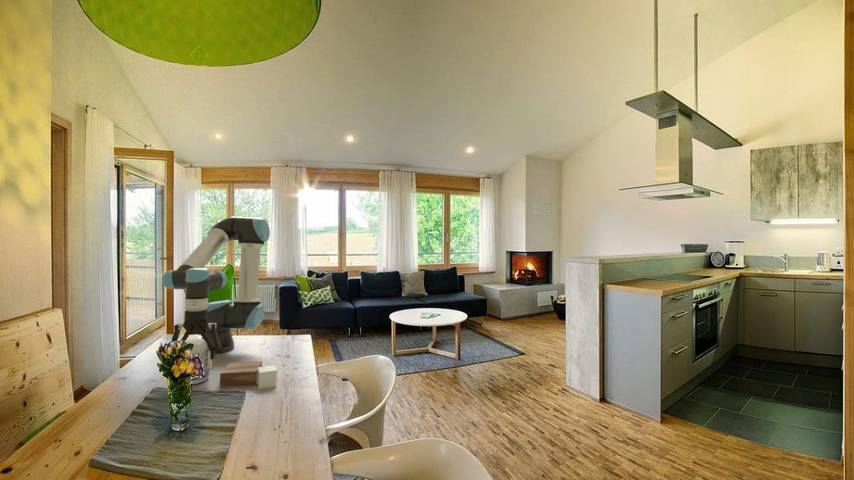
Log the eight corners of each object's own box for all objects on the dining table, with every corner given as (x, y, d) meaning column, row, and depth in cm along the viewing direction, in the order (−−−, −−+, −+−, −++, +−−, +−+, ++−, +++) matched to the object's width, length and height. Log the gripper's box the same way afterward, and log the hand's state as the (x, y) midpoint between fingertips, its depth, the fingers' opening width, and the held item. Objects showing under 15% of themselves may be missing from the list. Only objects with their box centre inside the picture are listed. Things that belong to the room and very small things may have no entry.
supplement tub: (211, 381, 140) (212, 342, 140) (182, 387, 133) (183, 347, 133) (205, 374, 147) (206, 337, 147) (176, 379, 140) (177, 341, 140)
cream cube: (257, 383, 140) (257, 367, 140) (274, 380, 143) (275, 365, 143) (258, 389, 135) (259, 372, 135) (276, 386, 138) (276, 370, 138)
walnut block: (229, 375, 147) (229, 362, 147) (261, 373, 150) (262, 361, 150) (219, 387, 135) (220, 373, 135) (255, 385, 138) (255, 371, 138)
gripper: (158, 311, 134) (156, 373, 134) (225, 310, 139) (223, 370, 139) (167, 307, 141) (165, 366, 141) (231, 307, 147) (229, 363, 147)
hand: (194, 368), depth 140 cm, fingers closed on supplement tub, 9 cm apart
